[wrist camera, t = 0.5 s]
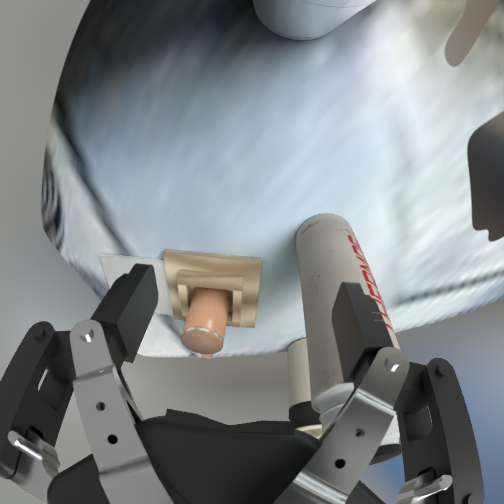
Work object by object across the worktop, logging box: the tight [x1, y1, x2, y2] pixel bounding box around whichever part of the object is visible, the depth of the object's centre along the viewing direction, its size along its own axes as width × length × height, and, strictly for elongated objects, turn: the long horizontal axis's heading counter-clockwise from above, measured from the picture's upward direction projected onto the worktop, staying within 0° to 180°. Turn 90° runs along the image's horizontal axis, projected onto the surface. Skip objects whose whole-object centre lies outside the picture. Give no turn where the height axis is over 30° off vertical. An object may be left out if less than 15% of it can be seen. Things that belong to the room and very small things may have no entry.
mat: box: [99, 253, 174, 316], centre depth 42 cm, size 12×12×1 cm
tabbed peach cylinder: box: [181, 287, 230, 359], centre depth 39 cm, size 10×6×9 cm, turn 176°
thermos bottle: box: [295, 214, 402, 465], centre depth 24 cm, size 8×8×28 cm
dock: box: [163, 249, 262, 328], centre depth 41 cm, size 14×14×3 cm
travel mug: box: [288, 338, 324, 438], centre depth 43 cm, size 8×8×18 cm
